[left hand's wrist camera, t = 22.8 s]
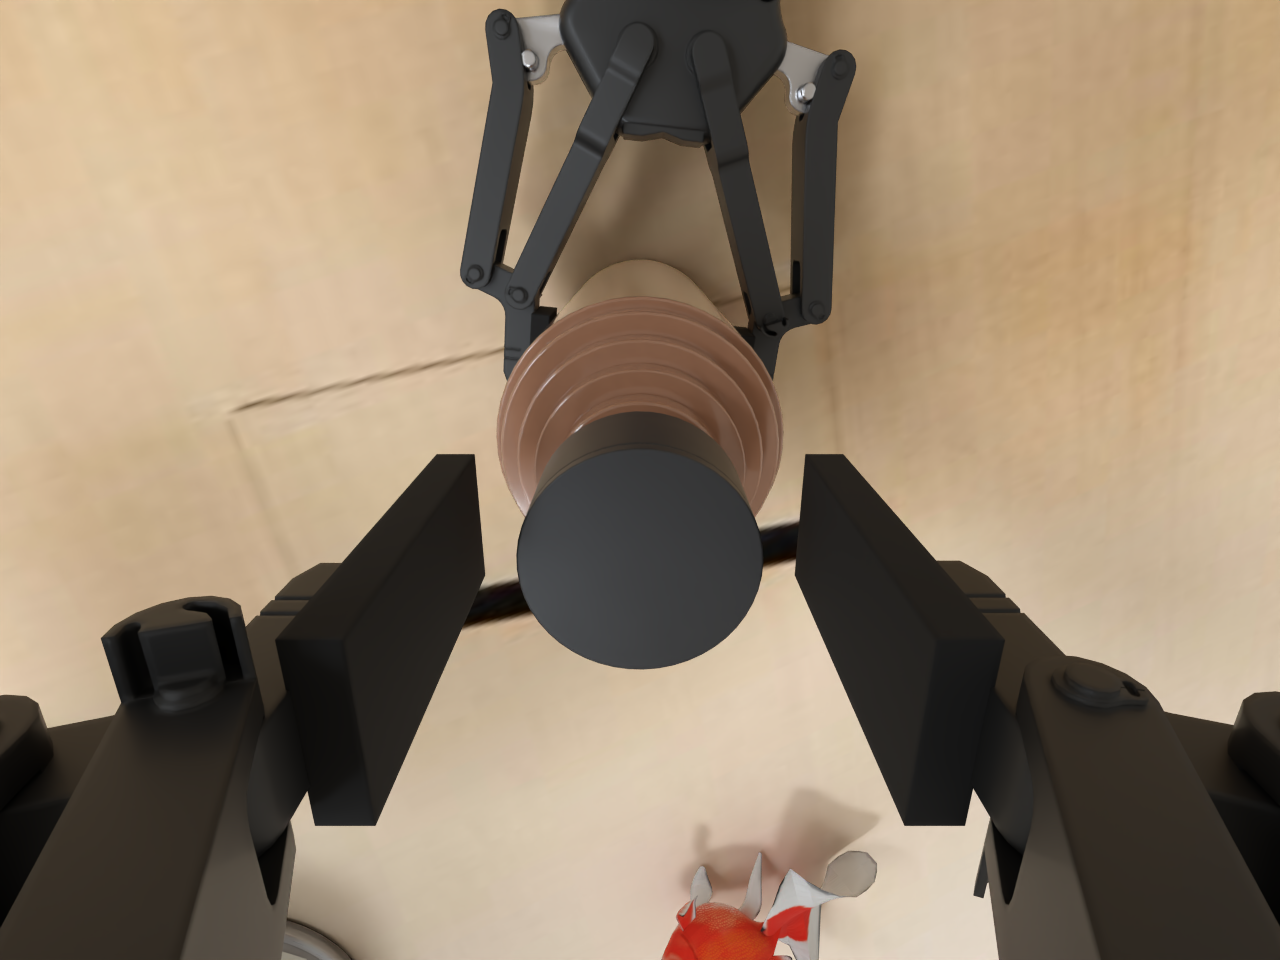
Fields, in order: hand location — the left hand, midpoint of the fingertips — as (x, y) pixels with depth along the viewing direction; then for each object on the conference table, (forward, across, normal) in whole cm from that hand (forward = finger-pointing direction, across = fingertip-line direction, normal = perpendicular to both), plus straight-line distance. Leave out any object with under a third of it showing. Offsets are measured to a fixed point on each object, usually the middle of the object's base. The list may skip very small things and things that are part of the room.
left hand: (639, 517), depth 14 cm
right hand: (+17, 0, -5) cm, 18 cm away
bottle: (+23, 0, 0) cm, 23 cm away
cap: (-2, 0, 0) cm, 2 cm away
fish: (+23, +8, -37) cm, 44 cm away
